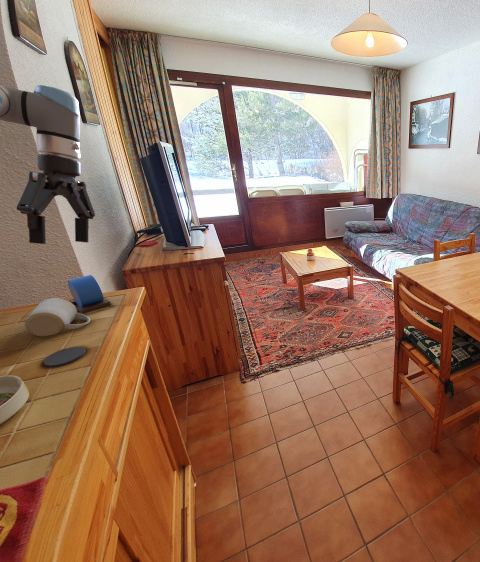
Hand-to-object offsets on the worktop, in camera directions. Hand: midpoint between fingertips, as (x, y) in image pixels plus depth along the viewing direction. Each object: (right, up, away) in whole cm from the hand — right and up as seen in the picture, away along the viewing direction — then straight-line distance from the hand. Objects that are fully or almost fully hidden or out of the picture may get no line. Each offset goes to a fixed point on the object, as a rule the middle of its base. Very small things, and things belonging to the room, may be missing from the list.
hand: (61, 242), depth 80 cm
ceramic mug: (0, -23, +1) cm, 23 cm away
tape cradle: (-3, -18, +12) cm, 22 cm away
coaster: (+11, -27, -10) cm, 31 cm away
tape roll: (-3, -17, +12) cm, 21 cm away
